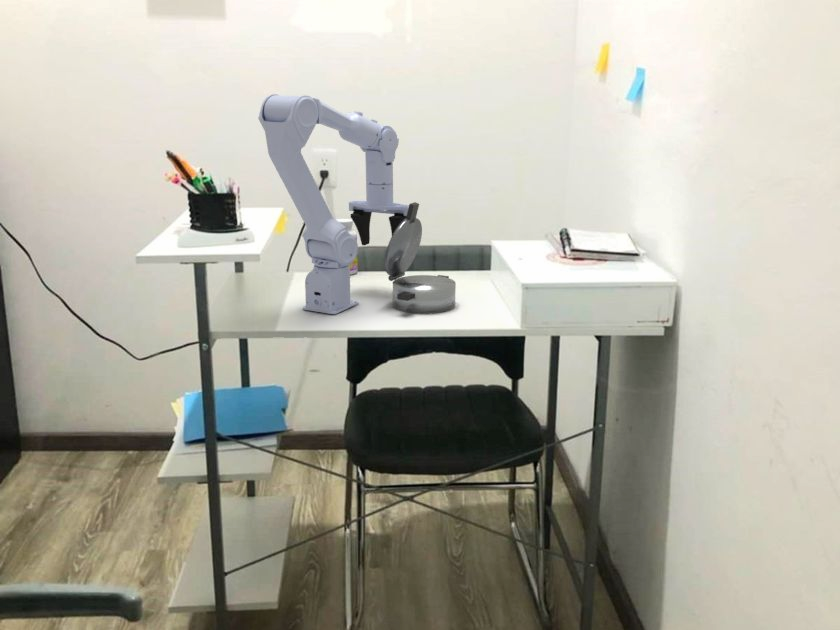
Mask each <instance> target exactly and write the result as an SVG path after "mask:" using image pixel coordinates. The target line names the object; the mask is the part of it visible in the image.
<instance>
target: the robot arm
mask: <svg viewBox="0 0 840 630" xmlns="http://www.w3.org/2000/svg"><path fill="white" fill-rule="evenodd" d="M363 115H364V113H363V112H362V111H357V110H356V111H355V110H354V111H353V112H348V113H346V114H344V113H343V112H342V111H339V110H338V109H336V108H334V107H332V106H330V105H328V104H326V103H325V102H323V101H321V100H320V99H319V98H315V97H311V96H310V95H308V94H302V95H285V94H284V95H280V94H276V93H274V94H273V93H271V94H270V95H267V96H266V97H265V98H264V99H263V102H262V103H261V107H260V111H259V115H258V117H257V118H258V120H259V123H260V124H261V127H262V129H263V131H264V133H265V140H266V141H265V142H266V147H267V153H268V156H269V158H270V161H271V163H272V164H273V165H274V167H275V169H276V172H277V174H278V175H279V177H280V179H281V181H282V183H283V185H284V187H285V188H286V190H287V192H288V195H289V196H290V198H291V200H292V202H293V204H294V206H295V208H296V210H297V212H298V213H299V215H300V217H301V219H302V221H303V223H304V225H305V228H304V230H303V232H302V234H301V236H302V238H303V240H304V245H305V247H304V248H305V251H306V254H307V256H308V257H310V259H311V263H312V264H313V267H312V268H313V269H312V270H311V271H310V272H308V274H307V275H306V277H305V281H304V283H305V285H304V287H305V288H304V289H305V290H304V291H305V305H304V306H302V310H303V311H311V312H318V313H323V314H328V315H337V314H339V313H341V312H344V311H345V310H348V309H350V308H352V307H354V306H357V305H359V304H360V302H359V301H358V300H351V275H350V265H352V262H353V261H354V260H355V258H356V256H357V257H358V251H359V250H358V249H359V244H358V239H357V240H356V239H355V237H354V236H353V235H351V234H350V233H349V232H348V231H347V229H346V227H345V226H344V225H342V224H341V223H340V222H338V221H337V220H336V219H337V218H336V219H335V218H334V217H333V214H332V212H331V210H330V209H329V207H328V205H327V203H326V201H325V198H324V197H323V195H322V193H321V190H320V188H319V186H318V185H317V182H316V180H315V178H314V177H313V174H312V173H311V170H310V169H309V166H308V165H307V163H306V160H305V159H304V158H305V157H304V156H303V154H302V149H303V148H304V147H306V144H307V143H308V141H309V139H310V137H311V135H312V133H313V131H314V129H315V128H316V125H321V126H322V125H323V126H325V127H328V128H329V129H333V130H335V131H338V134H339V137H340V138H341V139H342V140H344V141H346V142H349V143H350V144H353V145H356V146H358V147H360V150H361V151H362V152H364V154H365V156H364V157H365V190H366V191H365V193H366V194H365V195H366V200H365V201H364V200H363V201H361V200H352V201H348V211H349V212H352V213H351V214H350V219H351V220H353V223H354V225H355V227H356V230H357V233H358V235H359V239H360V243H361V245H362V246H366V245H367V246H368V245H369V244H370V240H371V236H370V235H371V234H370V231H371V230H370V228H371V227H370V226H371V219H372V214H373V213H377V214H378V213H379V214H386V215H387V214H389V215H392V216H389V217H388V222H389V225H390V230H391V236H392V235H393V233H394V231H395V230H396V228H397V227H398V226H399V224H400V223H401V222H402V221H403V220H404V219H406V216H407V212H408V208H409V204H401V203H397V202H394V167H393V165H394V162H395V159H396V152H397V149H398V146H399V141H400V139H399V138H398V135H397V132H396V130H394V128H393V127H392V126H390V125H382V124H381V125H380V123H378V120H376V119H369V118H367V117H365V116H363Z"/></svg>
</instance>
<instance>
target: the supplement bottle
mask: <svg viewBox="0 0 840 630" xmlns="http://www.w3.org/2000/svg"><path fill="white" fill-rule="evenodd" d="M336 220H337V221H338V222H340V223H341V224H342V225H344V226H345V227H346V229H347V231H348V232H349V233H350V234H351V235H353V236H354V237H355V239H356V240H357V241H358V234H357V233H358V232H356V231H355V230H353V225H354V224H353V223H354V222H353V220H352V218H336ZM357 272H358V255H357V256H356V258H355V260H354V261H353V262H352V265H350V276H352V275H354V274H356V273H357Z"/></svg>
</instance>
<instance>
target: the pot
mask: <svg viewBox="0 0 840 630" xmlns="http://www.w3.org/2000/svg"><path fill="white" fill-rule="evenodd" d="M449 277H450V276H449V275H441V274H438V275H432V274H429V275H428V274H417V275H407V276H406V275H405V276H402V277H400V278H397V279H395V280H393V281H392V307H393V309H396V310H397V311H401V312H404V313H409V312H410V313H411V314H418V313H420V315H421V314H422V315H423V314H425V315H428V314H430V313H432V314H440V313H445V312H448V311H449V312H450V311H451V310H453V309H454V308H456V281H455V280H454V279H452V278H449ZM410 313H409V314H410Z"/></svg>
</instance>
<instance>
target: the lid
mask: <svg viewBox="0 0 840 630" xmlns="http://www.w3.org/2000/svg"><path fill="white" fill-rule="evenodd" d="M408 205H409V208H408V212H407V216H406V219H404V220H403V221H402V222H401V223H400V224H399V226H398V227H397V228H396V230H395V231H394V233H393V235H392V234H391V237H390V240H389V241H388V244H387V248H386V250H385V257H384V269H385V273H386V274H387V276H388V277H387V278H388V281H389V282H393V281H394V280H396V279H398V278H401V277H405V276H406V275H405V274H406V273H405V272H407V270H408V269H409V268H410V267H411V265H412V263H413V261H415V257H416V255H417V253H418V252H419V247H420V246H421V242H422V235H423V225H422V223H421V220H420V219H419V218H417V216H418V215H417V214H418V212H419V207H420V203H419V202H416V201H414V202H411V203H409V204H408Z"/></svg>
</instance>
